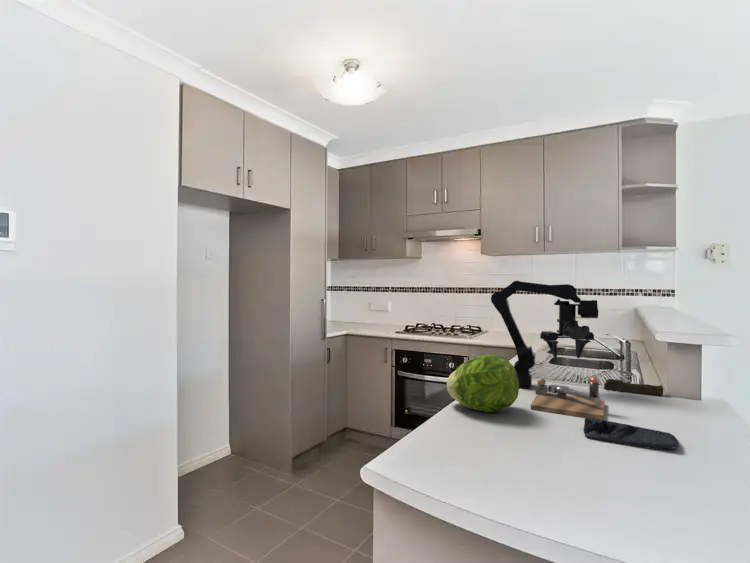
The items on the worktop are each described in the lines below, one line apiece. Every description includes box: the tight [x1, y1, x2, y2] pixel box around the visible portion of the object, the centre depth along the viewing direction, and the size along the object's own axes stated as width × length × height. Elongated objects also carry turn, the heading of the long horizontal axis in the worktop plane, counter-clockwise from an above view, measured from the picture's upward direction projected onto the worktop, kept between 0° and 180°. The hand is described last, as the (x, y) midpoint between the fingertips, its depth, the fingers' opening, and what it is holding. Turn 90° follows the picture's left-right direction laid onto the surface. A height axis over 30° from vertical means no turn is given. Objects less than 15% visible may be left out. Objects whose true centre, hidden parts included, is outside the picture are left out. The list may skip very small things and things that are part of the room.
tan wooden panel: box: [530, 377, 606, 421], centre depth 140 cm, size 22×18×7 cm
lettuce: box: [446, 353, 520, 413], centre depth 137 cm, size 19×23×18 cm
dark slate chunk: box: [583, 417, 680, 451], centre depth 114 cm, size 15×22×5 cm
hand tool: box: [603, 378, 664, 398], centre depth 158 cm, size 19×4×5 cm, turn 63°
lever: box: [548, 376, 600, 402], centre depth 141 cm, size 18×4×8 cm, turn 27°
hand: (566, 358), depth 159 cm, fingers open, 9 cm apart
